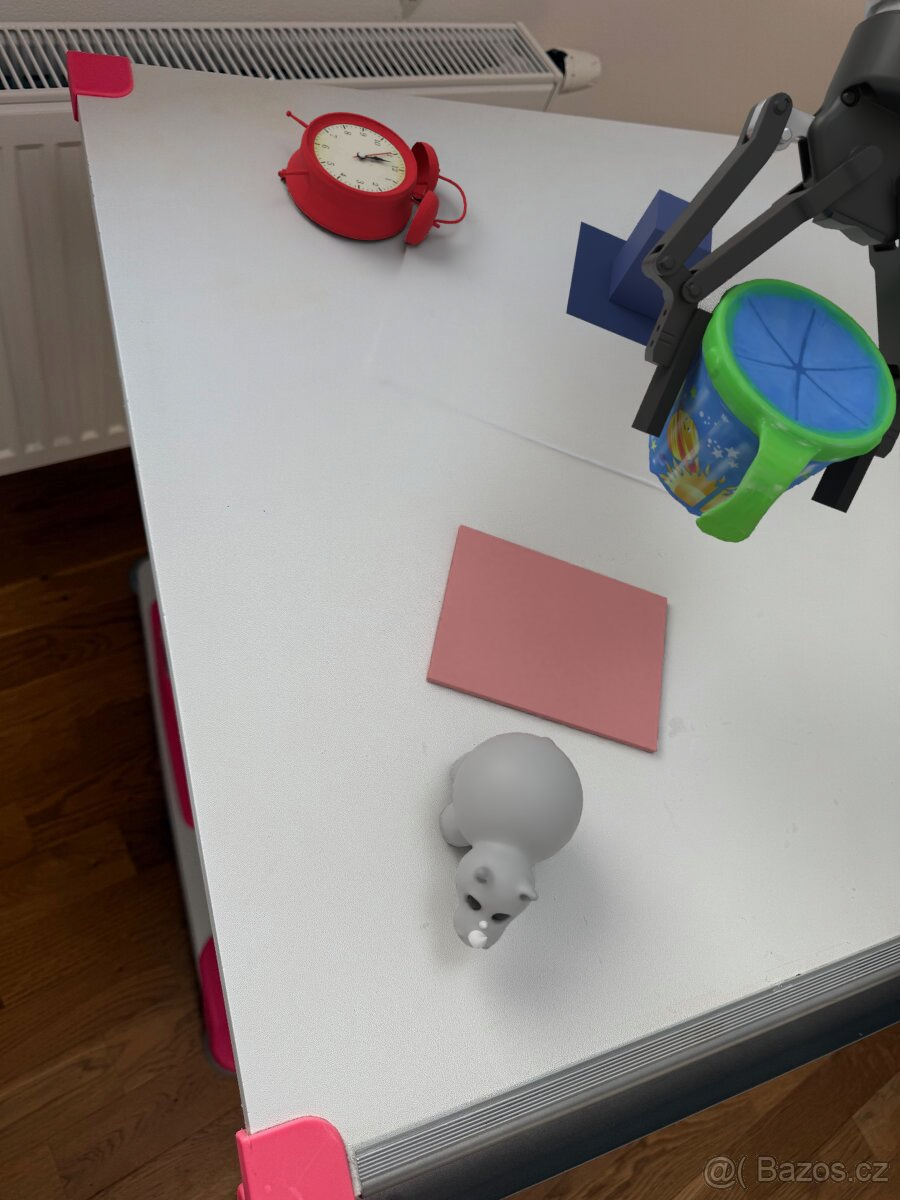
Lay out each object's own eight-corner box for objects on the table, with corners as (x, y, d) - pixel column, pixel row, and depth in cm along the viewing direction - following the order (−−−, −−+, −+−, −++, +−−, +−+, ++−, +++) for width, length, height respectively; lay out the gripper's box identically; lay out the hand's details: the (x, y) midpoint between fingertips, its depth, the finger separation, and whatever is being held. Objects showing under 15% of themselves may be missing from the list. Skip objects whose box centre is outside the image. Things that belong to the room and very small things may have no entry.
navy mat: (696, 276, 89) (699, 272, 88) (691, 369, 83) (694, 365, 82) (578, 225, 87) (581, 220, 86) (563, 317, 80) (566, 312, 80)
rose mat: (664, 600, 70) (667, 597, 69) (653, 753, 64) (657, 751, 63) (458, 527, 67) (461, 523, 66) (425, 680, 61) (428, 677, 60)
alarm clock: (284, 90, 76) (473, 108, 77) (287, 159, 81) (464, 176, 83) (272, 179, 71) (475, 197, 72) (277, 247, 76) (465, 263, 78)
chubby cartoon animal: (382, 934, 53) (431, 904, 46) (449, 743, 59) (501, 691, 52) (500, 984, 53) (566, 963, 46) (554, 790, 60) (618, 746, 53)
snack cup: (744, 616, 53) (873, 520, 44) (579, 516, 52) (678, 398, 43) (801, 432, 61) (918, 322, 53) (660, 344, 61) (756, 218, 52)
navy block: (663, 283, 86) (713, 212, 79) (660, 322, 83) (711, 252, 77) (613, 261, 85) (659, 188, 78) (608, 300, 82) (655, 227, 76)
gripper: (1069, 154, 53) (882, 529, 57) (697, -38, 48) (528, 386, 53) (1184, 127, 45) (959, 558, 50) (759, -101, 41) (557, 396, 46)
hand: (738, 470), depth 52 cm, fingers closed on snack cup, 10 cm apart
